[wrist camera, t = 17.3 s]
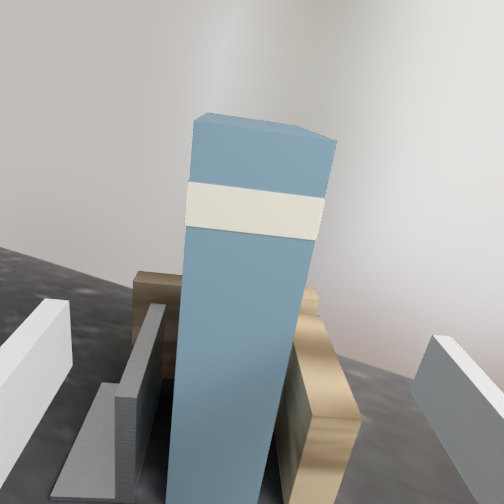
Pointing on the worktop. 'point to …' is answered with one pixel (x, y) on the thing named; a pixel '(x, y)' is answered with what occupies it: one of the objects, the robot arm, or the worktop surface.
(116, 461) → the bookend
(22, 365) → the robot arm
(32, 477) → the worktop surface
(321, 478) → the oak shelf
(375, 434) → the worktop surface
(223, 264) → the book
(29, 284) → the worktop surface
